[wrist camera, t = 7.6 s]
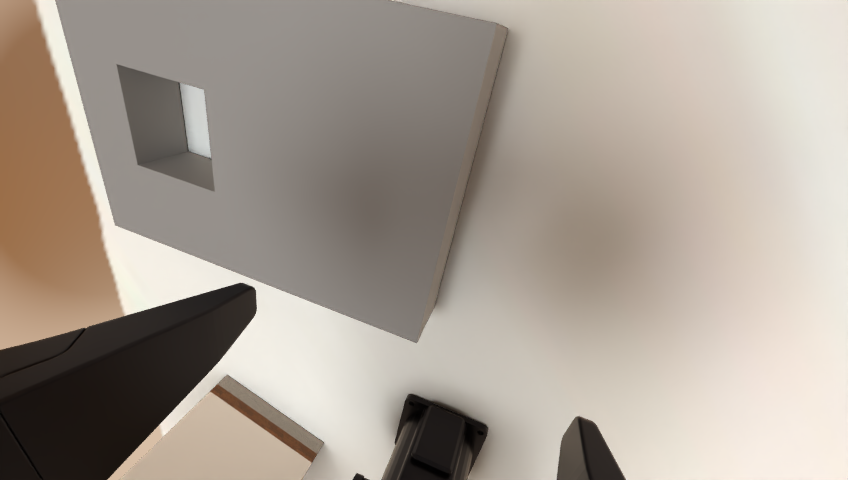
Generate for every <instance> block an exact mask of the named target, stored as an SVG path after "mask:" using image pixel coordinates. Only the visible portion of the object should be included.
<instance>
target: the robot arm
mask: <svg viewBox="0 0 848 480" xmlns="http://www.w3.org/2000/svg"><path fill="white" fill-rule="evenodd" d="M256 310H257V304H256V290H255V288H254V287H252V286H249V285H247V284H244V283H238V284H234V285H231V286H228V287H224V288H221V289H217V290H214V291H210V292H207V293H203V294H200V295H196V296H193V297H189V298H186V299H182V300H179V301H176V302H172V303H169V304H165V305H162V306H158V307H155V308H151V309H148V310H144V311H141V312H137V313H134V314H130V315H127V316H123V317H120V318H117V319H113V320H110V321H106V322H103V323H99V324H96V325H92V326H89V327H87V328H81V329H78V330H75V331H71V332H68V333H65V334H61V335H57V336H53V337H50V338H46V339H42V340H39V341H35V342H31V343H27V344H23V345H19V346H14V347H10V348H6V349H3V350H0V480H107V479H108V478H109V477H110V476H111V475H112V474H113V473H114V472H115V471H116V470H117V468H119V467H120V466H121V464H122V463H123V462H124V461H125V460H126V459H127V458H128V457H129V456H130V455H131V454H132V453H133V452H134V451H135V450H136V449H137V448H138V446H139V445H140V444H141V443H142V442H143V441H144V440H145V439H146V438H147V437H148V436H149V435H150V434H151V433H152V432H153V431H154V429H156V428H157V427H158V426H159V424H160V423H161V422H162V421H163V420H164V419H165V418H166V417H167V416H168V415H169V414H170V413H171V412H172V411H173V410H174V409H175V408H176V407H177V405H178V404H179V403H180V402H181V401H182V400H183V399H184V398H185V397H186V396H187V395H188V394H189V393H190V392H191V391H192V390H193V389H194V388H195V386H196V385H197V384H198V383H199V382H200V381H201V380H202V379H203V378H204V377H205V376H206V375H207V374H208V373H209V372H210V371H211V370H212V369H213V367H214V366H215V365H216V364H217V363H218V362H219V361H220V360H221V358H222V357H223V356H224V355H225V354H226V352H227V351H228V350H229V348H230V347H231V346H232V345H233V343H234V342H235V341H236V339H237V338H238V337H239V336H240V334H241V333H242V332H243V330H244V329H245V328H246V327H247V325H248V324H249V323H250V321H251V320H252V319H253V317H254V316H255V314H256ZM487 433H488V428H487V426H486V425H484V424H482V423H479V422H477V421H474V420H472V419H470V418H467V417H465V416H463V415H460V414H458V413H455V412H453V411H451V410H448V409H446V408H443V407H441V406H439V405H436V404H434V403H432V402H429V401H427V400H424V399H422V398H420V397H417V396H415V395H408V396H407V398H406V400H405V404H404V408H403V412H402V415H401V419H400V423H399V427H398V431H397V435H396V439H395V445H396V446H395V448H394V450H393V453H392V455H391V458H390V460H389V463H388V465H387V467H386V470H385V472H384V475H383V477H382V479H381V480H467V478H468V475H469V473H470V471H471V469H472V467H473V465H474V462H475V460H476V458H477V456H478V454H479V452H480V450H481V447H482V445H483V443H484V441H485V439H486V437H487ZM353 480H369V479H366V478H364V476H363V475H361V474H358V473H357V474H356V475H355V477H354V478H353ZM557 480H626V479H625V477H624V475H623V473H622V472H621V470H620V468H619V466H618V464H617V462H616V460H615V459H614V457H613V455H612V453H611V451H610V449H609V447H608V446H607V444H606V442H605V440H604V438H603V436H602V434H601V433H600V431H599V429H598V427H597V425H596V424H595V423H594V422H592V421H590V420H588V419H585V418H583V417H580V416H577V417H575V418H574V420H573V421H572V423H571V424H570V426H569V428H568V429H567V431H566V432H565V434H564V435H563V438H562V441H561V447H560V456H559V464H558V473H557Z"/></svg>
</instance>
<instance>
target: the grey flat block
mask: <svg viewBox="0 0 848 480" xmlns="http://www.w3.org/2000/svg"><path fill="white" fill-rule="evenodd" d="M55 1H56V5H57V9H58V12H59V16H60V20H61V24H62V27H63V31H64V35H65V39H66V43H67V46H68V50H69V54H70V58H71V61H72V65H73V69H74V73H75V76H76V80H77V84H78V88H79V91H80V95H81V99H82V103H83V106H84V110H85V114H86V118H87V121H88V125H89V129H90V133H91V136H92V140H93V144H94V148H95V151H96V155H97V159H98V163H99V166H100V170H101V174H102V178H103V181H104V185H105V189H106V193H107V196H108V200H109V204H110V208H111V211H112V215H113V219H114V223H115V225H116V226H119V227H121V228H124V229H126V230H129V231H131V232H134V233H136V234H139V235H142V236H144V237H147V238H149V239H152V240H154V241H157V242H159V243H162V244H165V245H167V246H170V247H172V248H175V249H177V250H180V251H182V252H185V253H188V254H190V255H193V256H195V257H198V258H200V259H203V260H205V261H208V262H211V263H213V264H216V265H218V266H221V267H223V268H226V269H228V270H231V271H234V272H236V273H239V274H241V275H244V276H246V277H249V278H251V279H254V280H257V281H259V282H262V283H264V284H267V285H269V286H272V287H275V288H277V289H280V290H282V291H285V292H287V293H290V294H292V295H295V296H298V297H300V298H303V299H305V300H308V301H310V302H313V303H315V304H318V305H321V306H323V307H326V308H328V309H331V310H333V311H336V312H338V313H341V314H344V315H346V316H349V317H351V318H354V319H356V320H359V321H361V322H364V323H367V324H369V325H372V326H374V327H377V328H379V329H382V330H384V331H387V332H390V333H392V334H395V335H397V336H400V337H402V338H405V339H407V340H410V341H413V342H415V343H417V342H418V340H419V338H420V336H421V333H422V331H423V329H424V327H425V325H426V323H427V321H428V319H429V317H430V315H431V313H432V311H433V309H434V307H435V303H436V299H437V295H438V291H439V288H440V284H441V280H442V276H443V273H444V269H445V265H446V261H447V258H448V254H449V250H450V246H451V243H452V239H453V235H454V231H455V228H456V224H457V220H458V216H459V213H460V209H461V205H462V201H463V198H464V194H465V190H466V186H467V182H468V179H469V175H470V171H471V167H472V164H473V160H474V156H475V152H476V149H477V145H478V141H479V137H480V134H481V130H482V126H483V122H484V119H485V115H486V111H487V107H488V104H489V100H490V96H491V92H492V88H493V85H494V81H495V77H496V73H497V70H498V66H499V62H500V58H501V55H502V51H503V47H504V43H505V40H506V36H507V32H508V28H506V27H504V26H502V25H499V24H497V23H493V22H488V21H484V20H479V19H474V18H469V17H465V16H460V15H455V14H451V13H446V12H441V11H437V10H432V9H427V8H423V7H418V6H413V5H409V4H404V3H399V2H395V1H390V0H55ZM179 82H180V83H183V84H187V85H190V86H194V87H197V88H200V89H204V93H205V102H206V112H207V121H208V131H209V140H210V150H211V159H209V158H206V157H203V156H200V155H197V154H194V153H191V152H188V148H187V140H186V133H185V126H184V118H183V111H182V104H181V96H180V89H179Z"/></svg>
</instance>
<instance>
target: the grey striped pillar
mask: <svg viewBox="0 0 848 480" xmlns="http://www.w3.org/2000/svg"><path fill="white" fill-rule="evenodd" d="M323 444H324V442H322V441H321V440H319V439H318V438H316V437H315V436H314V435H312V434H311V433H309V432H308V431H306V430H305V429H304V428H302V427H301V426H299V425H298V424H296V423H295V422H294V421H292V420H291V419H289V418H288V417H287V416H285V415H284V414H282V413H281V412H279V411H278V410H277V409H275V408H274V407H272V406H271V405H269V404H268V403H267V402H265V401H264V400H262V399H261V398H259V397H258V396H257V395H255V394H254V393H252V392H251V391H249V390H248V389H247V388H245V387H244V386H242V385H241V384H239V383H238V382H237V381H235V380H234V379H232V378H231V377H230V376H228V375H226V376H225V377H224V378H223V379H222V380H221V381H220V382H219V383H218V384H217V385H216V386H215V387H214V388H213V389H212V390H211V391H210V392H209V393H208V394H207V395H206V396H205V397H204V398H203V399H202V400H201V401H200V402H199V403H198V404H197V405H195V406H194V407H193V408H192V409H191V410H190V411H189V412H188V413H187V414H186V415H185V416H184V417H183V418H182V419H181V420H180V421H179V422H178V423H177V424H176V425H175V426H174V427H173V428H172V429H171V430H170V431H169V432H168V433H167V434H166V435H165V436H164V437H163V438H162V439H161V440H160V441H159V442H157V443H156V444H155V445H154V446H153V448H151V449H150V450H149V451H148V452H147V453H146V454H145V455H144V456H143V457H142V458H141V459H140V460H139V461H138V462H137V463H136V464H135V465H134V466H133V467H132V468H131V469H130V470H129V471H128V472H127V473H126V474H125V475H124V476H123V477H122V478H120V480H302V479H303V477H304V475H305V474H306V472H307V470H308V469H309V467H310V465H311V464H312V462H313V460H314V459H315V457H316V455H317V454H318V452H319V450H320V449H321V447H322V445H323Z"/></svg>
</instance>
